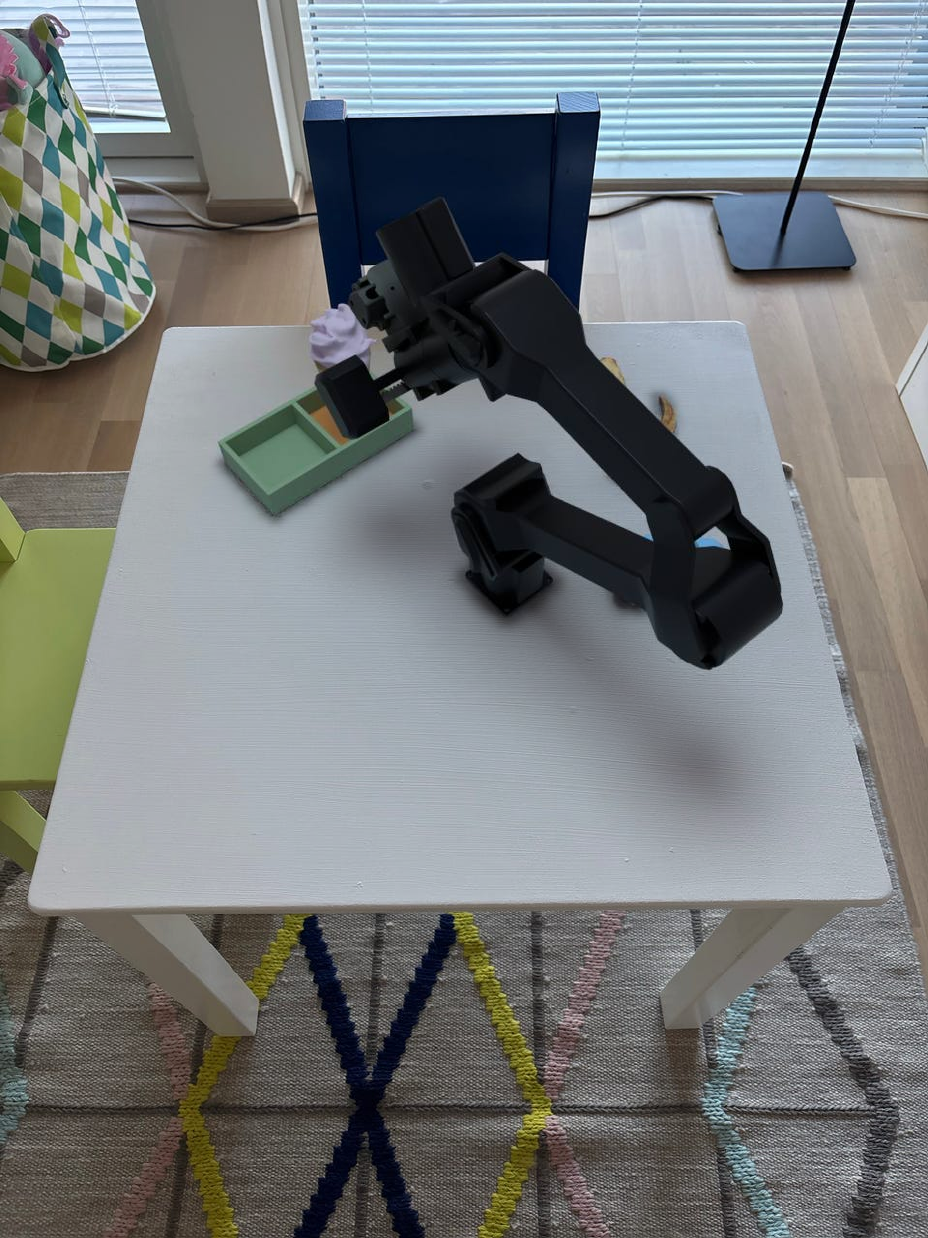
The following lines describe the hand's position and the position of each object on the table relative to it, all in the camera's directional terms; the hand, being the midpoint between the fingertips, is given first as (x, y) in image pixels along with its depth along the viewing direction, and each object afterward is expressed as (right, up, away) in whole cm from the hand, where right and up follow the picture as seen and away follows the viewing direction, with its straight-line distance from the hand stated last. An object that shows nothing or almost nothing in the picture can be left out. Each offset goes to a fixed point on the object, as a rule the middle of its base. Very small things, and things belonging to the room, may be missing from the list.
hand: (387, 374), depth 88 cm
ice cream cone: (-5, -2, +15) cm, 15 cm away
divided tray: (-9, -4, +13) cm, 16 cm away
